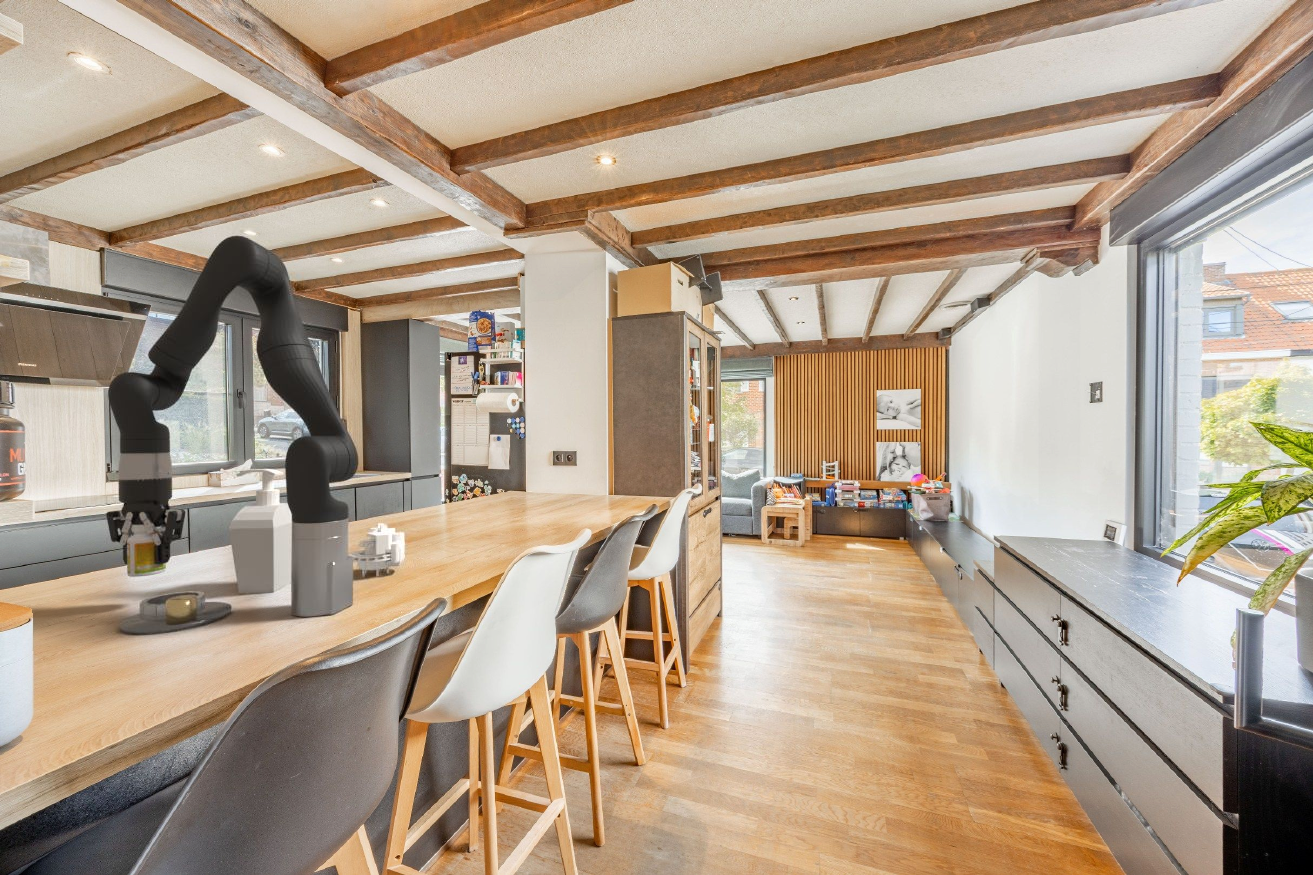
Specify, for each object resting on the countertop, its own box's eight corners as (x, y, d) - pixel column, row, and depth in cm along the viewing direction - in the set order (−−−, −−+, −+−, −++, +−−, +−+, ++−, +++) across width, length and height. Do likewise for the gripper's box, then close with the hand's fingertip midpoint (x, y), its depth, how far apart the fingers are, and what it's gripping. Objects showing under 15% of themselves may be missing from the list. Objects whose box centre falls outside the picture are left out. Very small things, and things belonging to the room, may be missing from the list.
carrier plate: (252, 606, 103) (252, 582, 103) (179, 635, 88) (179, 606, 88) (178, 604, 104) (178, 580, 104) (93, 633, 89) (93, 604, 89)
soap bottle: (253, 580, 121) (254, 467, 121) (302, 579, 123) (302, 467, 123) (218, 596, 109) (219, 471, 109) (273, 594, 111) (273, 471, 111)
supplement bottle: (173, 570, 106) (172, 521, 106) (144, 577, 100) (144, 526, 100) (148, 570, 106) (148, 521, 106) (119, 577, 101) (118, 525, 101)
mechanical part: (353, 570, 131) (353, 522, 131) (406, 566, 136) (406, 520, 136) (344, 582, 121) (344, 530, 121) (402, 577, 125) (403, 527, 125)
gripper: (198, 474, 107) (199, 559, 107) (130, 475, 107) (131, 559, 107) (162, 477, 99) (163, 568, 99) (89, 478, 100) (90, 568, 100)
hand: (146, 563), depth 103 cm, fingers closed on supplement bottle, 5 cm apart
